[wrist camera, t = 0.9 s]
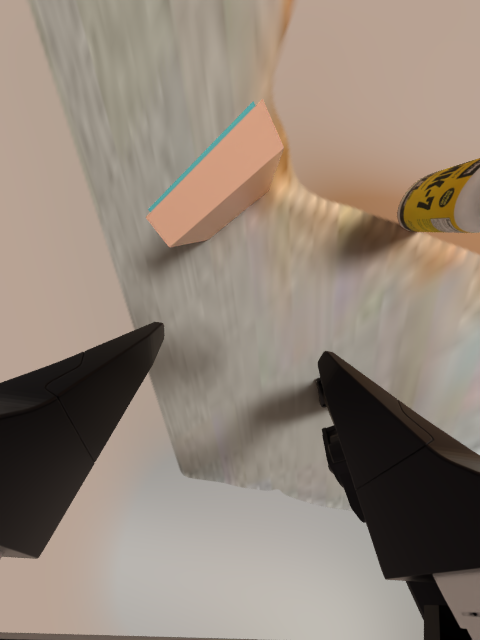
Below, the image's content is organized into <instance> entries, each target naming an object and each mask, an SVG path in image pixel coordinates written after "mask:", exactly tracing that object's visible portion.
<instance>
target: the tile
mask: <svg viewBox="0 0 480 640" xmlns="http://www.w3.org/2000/svg"><path fill="white" fill-rule="evenodd" d="M283 149H284V147H283V144H282V142H281V140H280V138H279V135H278V133H277V131H276V128H275V126H274V124H273V121H272V119H271V117H270V115H269V112H268V110H267V108H266V105H265V103H264V101H263V99H262V100H261V101H260V102H259V103H258V104H257V105H256V106H255V104H254V101H253V102H252V103H251V104H250V105H249V106H248V107H247V108H246V109H245V110H244V111H243V112H242V113H241V114H240V115H239V116H238V117H237V118H236V120H235V121H234V122H233V123H232V124H231V125H230V126H229V127H228V128H227V129H226V130H225V131H224V132H223V133H222V134H221V135H220V136H219V137H218V138H217V139H216V140H215V141H214V142H213V143H212V144H211V145H210V146H209V147H208V148H207V149H206V150H205V151H204V152H203V153H202V154H201V156H200V157H199V158H198V159H197V160H196V161H195V162H194V163H193V164H192V165H191V166H190V167H189V168H188V169H187V170H186V171H185V172H184V173H183V174H182V175H181V176H180V177H179V178H178V179H177V180H176V181H175V182H174V183H173V184H172V185H171V186H170V187H169V188H168V189H167V190H166V192H165V193H164V194H163V195H162V196H161V197H160V198H159V199H158V200H157V201H156V202H155V203H154V204H153V205H152V206H151V207H150V208H149V209H148V210H149V211H150V213H149V214H148V215H147V216H146V218H147V220H148V221H149V222H150V223H151V225H152V226H153V227H154V228H155V230H156V231H157V232H158V234H159V235H160V236H161V237H162V239H163V240H164V241H165V242H166V244H167V245H168V246H169V248H170V247H175V246H180V245H185V244H190V243H195V242H200V241H205V240H208V239H210V238H211V237H212V236H213V235H215V234H216V233H217V232H218V231H220V230H221V229H222V228H223V227H224V226H226V225H227V224H228V223H229V222H231V221H232V220H233V219H234V218H236V217H237V216H238V215H239V214H241V213H242V212H243V211H244V210H245V209H247V208H248V207H249V206H250V205H252V204H253V203H254V202H255V201H257V200H258V199H259V198H260V197H262V196H263V195H264V194H265V193H267V192H268V191H269V189H270V186H271V183H272V180H273V178H274V175H275V172H276V169H277V166H278V163H279V161H280V158H281V155H282V152H283Z"/></svg>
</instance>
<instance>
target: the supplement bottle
mask: <svg viewBox="0 0 480 640" xmlns="http://www.w3.org/2000/svg"><path fill="white" fill-rule="evenodd" d="M397 217H398V222H399V224H400V225H401V226H402V227H403V228H404V229H405V230H408V231H412V232H456V233H479V232H480V158H479V159H476V160H472V161H469V162H466V163H463V164H460V165H457V166H454V167H450V168H447V169H445V170H441V171H438V172H435V173H432V174H430V175H427V176H425V177H423V178H421V179H420V180H418V181H417V182H416V183H415V184H413V186H411V187H410V188H409V190H408V191H407V192H406V193H405V195H404V196H403V198H402V200H401V202H400V205H399V207H398V212H397Z"/></svg>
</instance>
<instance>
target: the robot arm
mask: <svg viewBox="0 0 480 640" xmlns="http://www.w3.org/2000/svg"><path fill="white" fill-rule="evenodd" d="M163 340H164V324H163V323H160V322H153V323H151V324H149V325H146V326H144V327H141V328H139V329H137V330H134V331H132V332H129V333H127V334H125V335H122V336H120V337H118V338H115V339H113V340H110V341H108V342H106V343H103V344H101V345H98V346H96V347H94V348H91V349H89V350H87V351H85V352H81V353H79V354H77V355H74V356H72V357H69V358H67V359H65V360H62V361H60V362H57V363H54V364H52V365H49V366H46V367H44V368H41V369H38V370H35V371H32V372H30V373H27V374H24V375H21V376H19V377H16V378H13V379H10V380H7V381H4V382H2V383H0V558H1V557H18V558H35V559H36V558H39V556H40V555H41V553H42V551H43V550H44V548H45V546H46V545H47V543H48V541H49V540H50V538H51V536H52V535H53V533H54V531H55V530H56V528H57V526H58V525H59V523H60V521H61V519H62V518H63V516H64V514H65V513H66V511H67V509H68V508H69V506H70V504H71V502H72V501H73V499H74V497H75V496H76V494H77V492H78V491H79V489H80V487H81V486H82V483H83V482H84V480H85V479H86V477H87V475H88V474H89V472H90V470H91V469H92V467H93V465H94V462H95V461H96V460H97V458H98V456H99V455H100V453H101V451H102V450H103V448H104V446H105V445H106V443H107V441H108V439H109V438H110V436H111V434H112V433H113V431H114V429H115V428H116V426H117V424H118V422H119V421H120V419H121V417H122V416H123V414H124V412H125V410H126V409H127V407H128V405H129V404H130V402H131V400H132V399H133V397H134V395H135V393H136V392H137V390H138V388H139V387H140V385H141V383H142V382H143V380H144V378H145V377H146V375H147V373H148V372H149V370H150V368H151V366H152V365H153V362H154V360H155V358H156V356H157V354H158V351H159V349H160V347H161V344H162V342H163ZM318 368H319V373H320V378H321V379H318V380H317V386H318V392H319V399H320V404H321V406H322V407H327V409H328V411H329V414H330V416H331V419H332V421H333V424H334V426H331V427H328V428H323V429H322V433H323V435H322V436H323V441H324V446H325V451H326V456H327V461H328V467H329V470H330V471H331V472H332V473H333V474H334V475H335V477H336V479H337V481H338V482H339V484H340V485H341V486H342V487H343V488H344V490H345V492H346V495H347V498H348V501H349V503H350V506H351V508H352V510H353V511H354V512H355V514H356V515H357V516H358V518H359V519H360V520H361V521H362V522H366V524H367V527H368V530H369V533H370V536H371V539H372V542H373V545H374V548H375V551H376V554H377V557H378V561H379V564H380V567H381V570H382V572H383V575H384V577H385V579H387V580H402V581H406V583H407V585H408V587H409V589H410V591H411V594H412V596H413V598H414V600H415V602H416V605H417V607H418V609H419V611H420V613H421V615H422V618H423V620H424V640H480V455H478V454H477V453H475V452H473V451H472V450H470V449H469V448H467V447H466V446H464V445H463V444H461V443H460V442H459V441H457V440H456V439H454V438H453V437H451V436H450V435H448V434H447V433H445V432H444V431H442V430H441V429H439V428H438V427H436V426H435V425H433V424H432V423H430V422H429V421H427V420H426V419H424V418H423V417H422V416H420V415H419V414H417V413H416V412H414V411H413V410H412V409H410V408H409V407H407V406H406V405H405V404H403V403H402V402H401V401H399V400H397V399H396V398H395V397H394V396H392V395H391V394H389V393H388V392H387V391H385V390H384V389H383V388H381V387H380V386H378V385H377V384H376V383H374V382H373V381H372V380H370V379H369V378H367V377H366V376H365V375H363V374H362V373H361V372H359V371H358V370H356V369H355V368H354V367H352V366H351V365H350V364H348V363H347V362H345V361H344V360H343V359H341V358H340V357H339V356H337V355H336V354H334V353H333V352H329V351H325V352H323V354H322V356H321V357H320V359H319V361H318ZM0 640H254V639H218V638H182V637H147V636H110V635H74V634H73V635H72V634H37V633H1V632H0ZM255 640H256V639H255Z"/></svg>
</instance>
